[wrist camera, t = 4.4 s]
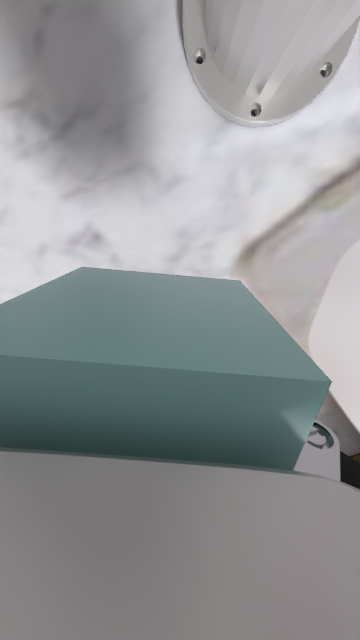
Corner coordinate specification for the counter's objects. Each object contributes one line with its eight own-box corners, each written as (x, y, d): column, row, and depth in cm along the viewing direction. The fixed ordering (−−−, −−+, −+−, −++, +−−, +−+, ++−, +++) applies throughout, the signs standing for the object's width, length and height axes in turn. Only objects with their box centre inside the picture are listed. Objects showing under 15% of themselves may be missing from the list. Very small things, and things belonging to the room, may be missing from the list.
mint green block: (81, 266, 11) (-94, 347, 4) (239, 280, 11) (331, 381, 4) (93, 391, 14) (4, 559, 7) (216, 401, 14) (247, 574, 7)
